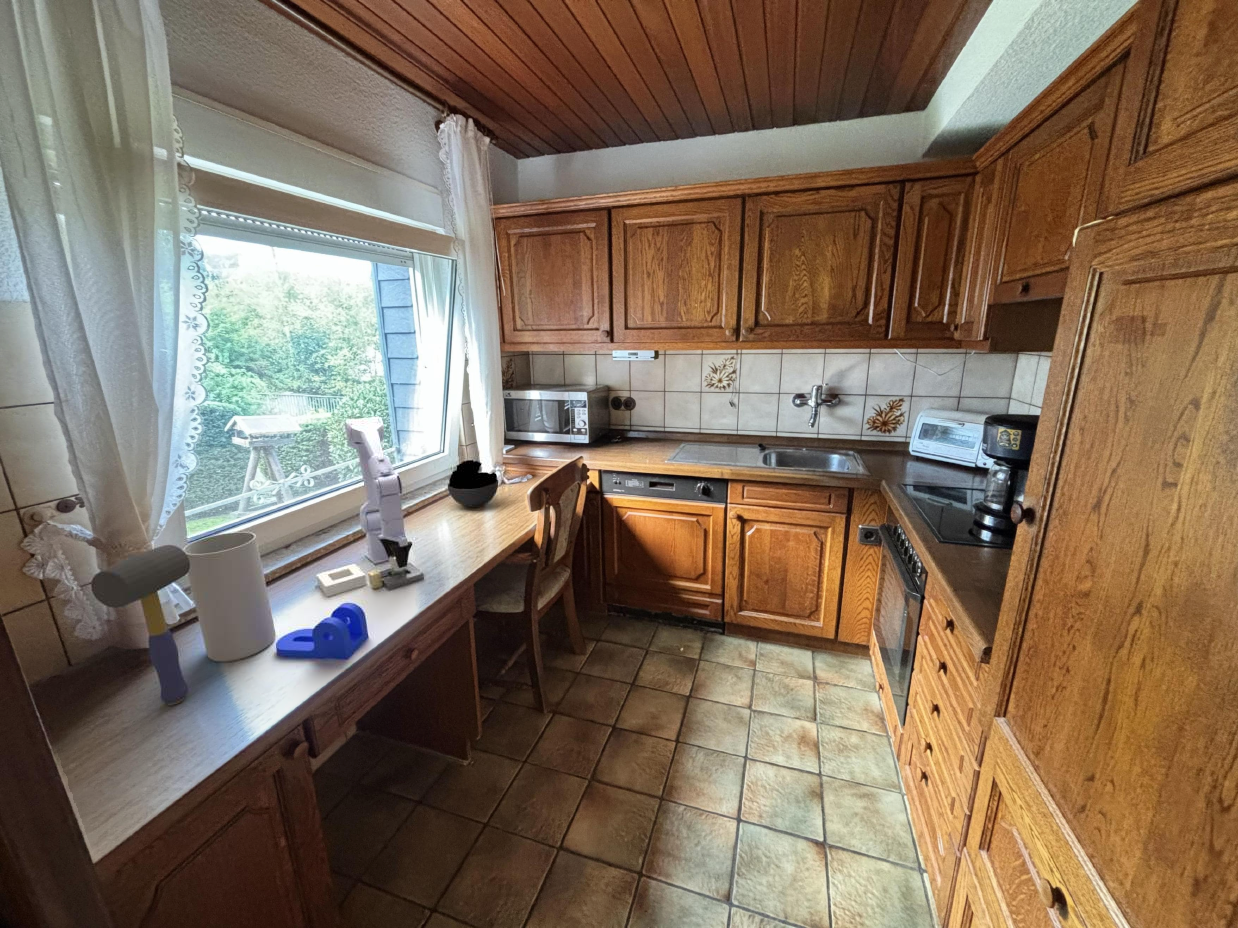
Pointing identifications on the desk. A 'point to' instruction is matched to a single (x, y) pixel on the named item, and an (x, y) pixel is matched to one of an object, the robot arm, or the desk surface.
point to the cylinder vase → (230, 595)
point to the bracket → (328, 636)
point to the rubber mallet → (149, 606)
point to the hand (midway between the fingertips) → (397, 562)
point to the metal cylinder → (396, 568)
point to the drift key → (375, 579)
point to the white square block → (341, 579)
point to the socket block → (401, 577)
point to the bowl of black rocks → (472, 484)
